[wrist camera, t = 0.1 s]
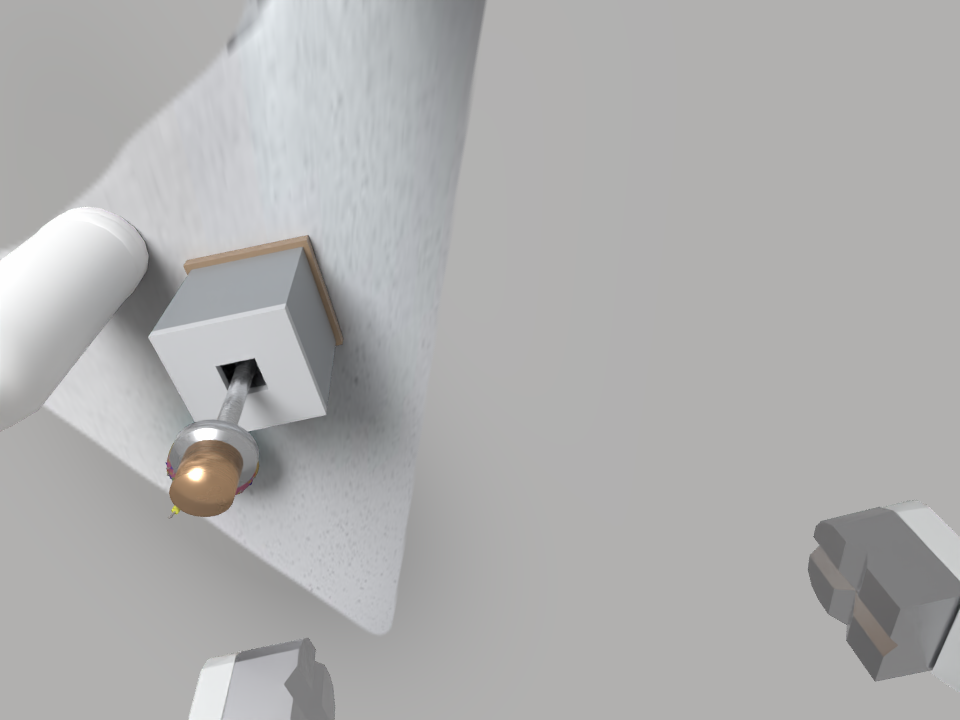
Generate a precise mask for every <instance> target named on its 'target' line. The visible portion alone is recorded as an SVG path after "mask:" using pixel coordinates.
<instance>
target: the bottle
mask: <svg viewBox="0 0 960 720" xmlns="http://www.w3.org/2000/svg"><path fill="white" fill-rule="evenodd" d="M148 259H149V255H148V252H147V248H146V245H145V242H144V240H143V239H142V237H141V236H140V234H139V233H138V232H137V230H136V229H135V228H134V227H133V226H132V225H131V224H129V223H128V222H127V221H126V220H124V219H123V218H122V217H121V216H119V215H116V214H114V213H112V212H109V211H107V210H105V209H100V208H93V207H86V206H85V207H80V208H75V209H70V210H68V211H66V212H65V213H63V214H61V215H59V216H58V217H56V218H55V219H53V220H52V221H50V222H49V223H47V224H46V225H44V226H43V227H42V228H41V229H40V230H39V231H38V233H36V234H35V235H34V236H32V237H31V238H30V239H28V240H27V241H26V242H24V243H23V244H22V245H20V246H19V247H18V248H17V249H15V250H14V251H13V252H11V253H10V254H9V255H7V256H6V257H5V258H3V259H2V260H1V261H0V432H1V431H2V430H5V429H7V428H9V427H11V426H13V425H15V424H16V423H18V422H20V421H22V420H23V419H25V418H27V417H28V416H30V415H32V414H33V413H35V412H37V411H38V410H39V409H40V408H41V406H42V405H43V404H44V403H45V401H46V400H47V399H48V397H49V396H50V395H51V394H52V392H53V391H54V390H55V389H56V387H57V386H58V385H59V383H60V382H61V381H62V380H63V378H64V377H65V376H66V375H67V373H68V372H69V371H70V369H71V368H72V367H73V366H74V364H75V363H76V362H77V361H78V359H79V358H80V357H81V355H82V354H83V353H84V352H85V350H86V349H87V348H88V346H89V345H90V344H91V343H92V341H93V340H94V339H95V338H96V336H97V335H98V334H99V332H100V331H101V330H102V329H103V327H104V326H105V325H106V324H107V322H108V321H109V320H110V318H111V317H112V316H113V315H114V313H115V312H116V311H117V310H118V308H119V307H120V306H121V304H122V303H123V302H124V301H125V299H126V298H127V297H129V296H130V295H131V294H132V293H133V291H134V290H135V288H136V287H137V285H138V284H139V282H140V281H141V279H142V278H143V275H144V274H145V272H146V271H147V267H148Z"/></svg>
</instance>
